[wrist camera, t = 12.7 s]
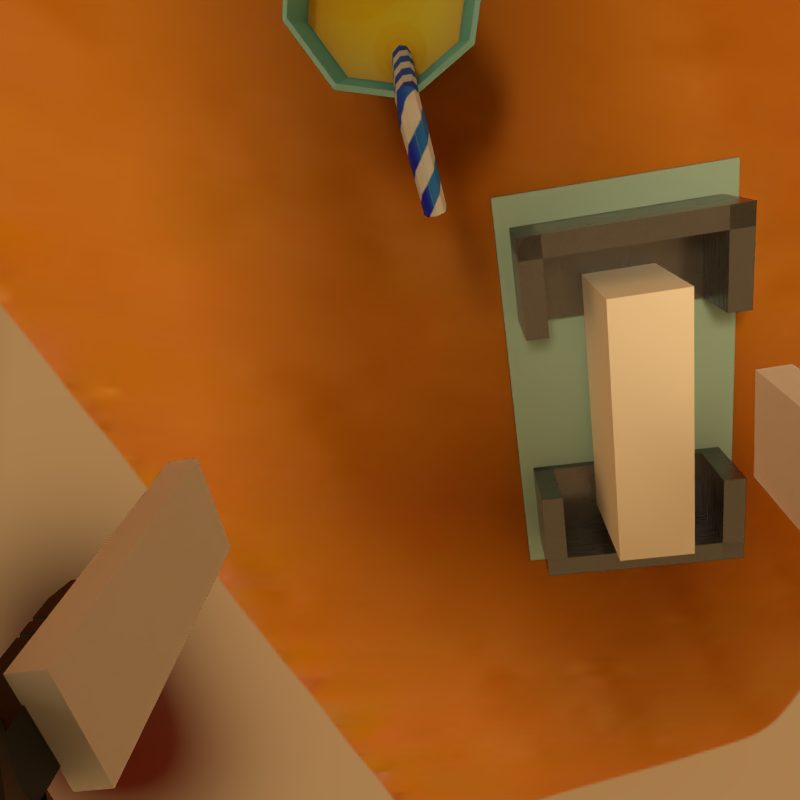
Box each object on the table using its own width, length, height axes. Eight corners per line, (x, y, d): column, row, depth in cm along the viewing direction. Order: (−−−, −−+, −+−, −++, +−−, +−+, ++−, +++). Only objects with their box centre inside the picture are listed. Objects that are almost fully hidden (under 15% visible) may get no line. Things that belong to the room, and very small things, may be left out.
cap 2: (717, 520, 42) (743, 557, 38) (540, 538, 43) (549, 575, 40) (718, 446, 40) (746, 478, 36) (533, 467, 41) (541, 500, 38)
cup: (508, 166, 35) (550, 185, 21) (372, 205, 36) (328, 248, 22) (444, -140, 30) (445, -374, 16) (289, -82, 31) (168, -254, 18)
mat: (490, 198, 36) (491, 198, 35) (736, 157, 34) (739, 157, 34) (529, 557, 44) (530, 560, 44) (727, 537, 43) (729, 541, 43)
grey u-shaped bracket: (508, 227, 36) (516, 238, 32) (723, 193, 34) (756, 200, 31) (518, 321, 38) (526, 341, 34) (721, 292, 36) (752, 309, 33)
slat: (581, 274, 36) (606, 299, 31) (655, 262, 36) (694, 286, 30) (596, 504, 42) (620, 560, 36) (660, 497, 41) (694, 553, 36)
